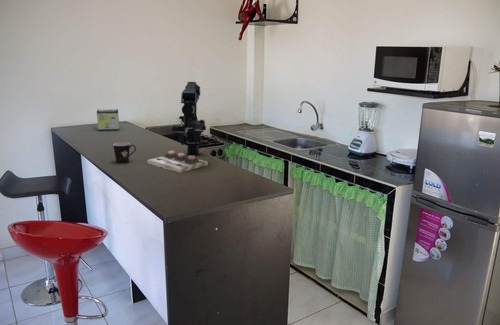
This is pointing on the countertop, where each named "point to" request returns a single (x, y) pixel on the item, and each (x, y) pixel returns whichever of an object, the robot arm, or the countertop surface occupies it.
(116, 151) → the coffee mug
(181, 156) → the middle button
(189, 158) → the button
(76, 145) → the countertop surface
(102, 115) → the protein box
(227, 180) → the countertop surface
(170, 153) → the button
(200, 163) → the button board
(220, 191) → the countertop surface
